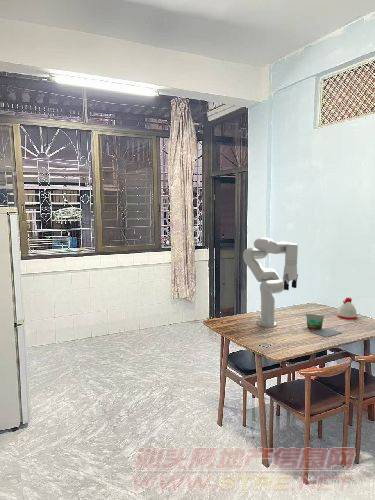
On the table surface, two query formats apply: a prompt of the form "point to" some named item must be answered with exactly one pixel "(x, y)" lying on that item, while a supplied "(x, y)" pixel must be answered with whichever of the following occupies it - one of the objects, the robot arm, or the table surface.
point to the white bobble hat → (347, 310)
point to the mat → (326, 332)
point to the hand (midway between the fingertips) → (290, 288)
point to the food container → (314, 321)
